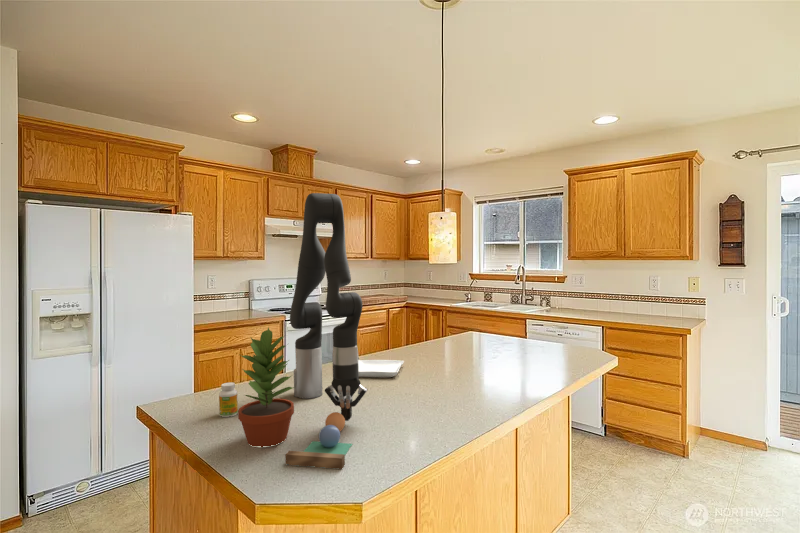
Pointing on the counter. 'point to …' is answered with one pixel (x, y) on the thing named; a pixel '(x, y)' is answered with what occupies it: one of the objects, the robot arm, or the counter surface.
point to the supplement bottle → (228, 400)
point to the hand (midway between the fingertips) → (346, 419)
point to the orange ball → (335, 420)
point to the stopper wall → (315, 459)
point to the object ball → (329, 436)
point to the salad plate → (379, 368)
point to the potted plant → (266, 396)
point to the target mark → (319, 448)
